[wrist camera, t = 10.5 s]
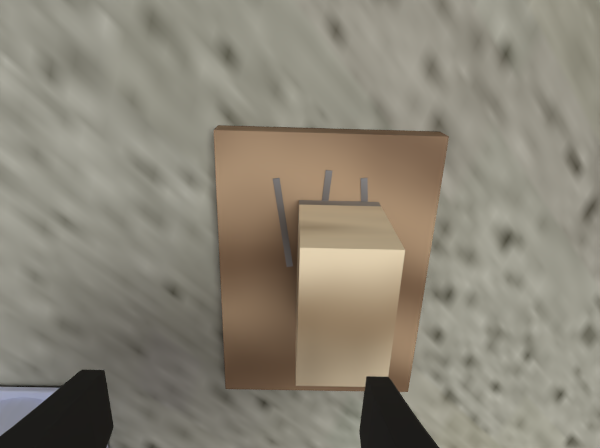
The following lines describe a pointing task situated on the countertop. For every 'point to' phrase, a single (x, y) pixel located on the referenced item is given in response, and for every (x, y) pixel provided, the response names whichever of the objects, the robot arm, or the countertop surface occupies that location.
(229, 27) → the countertop surface
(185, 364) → the countertop surface
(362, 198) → the board
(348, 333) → the block
